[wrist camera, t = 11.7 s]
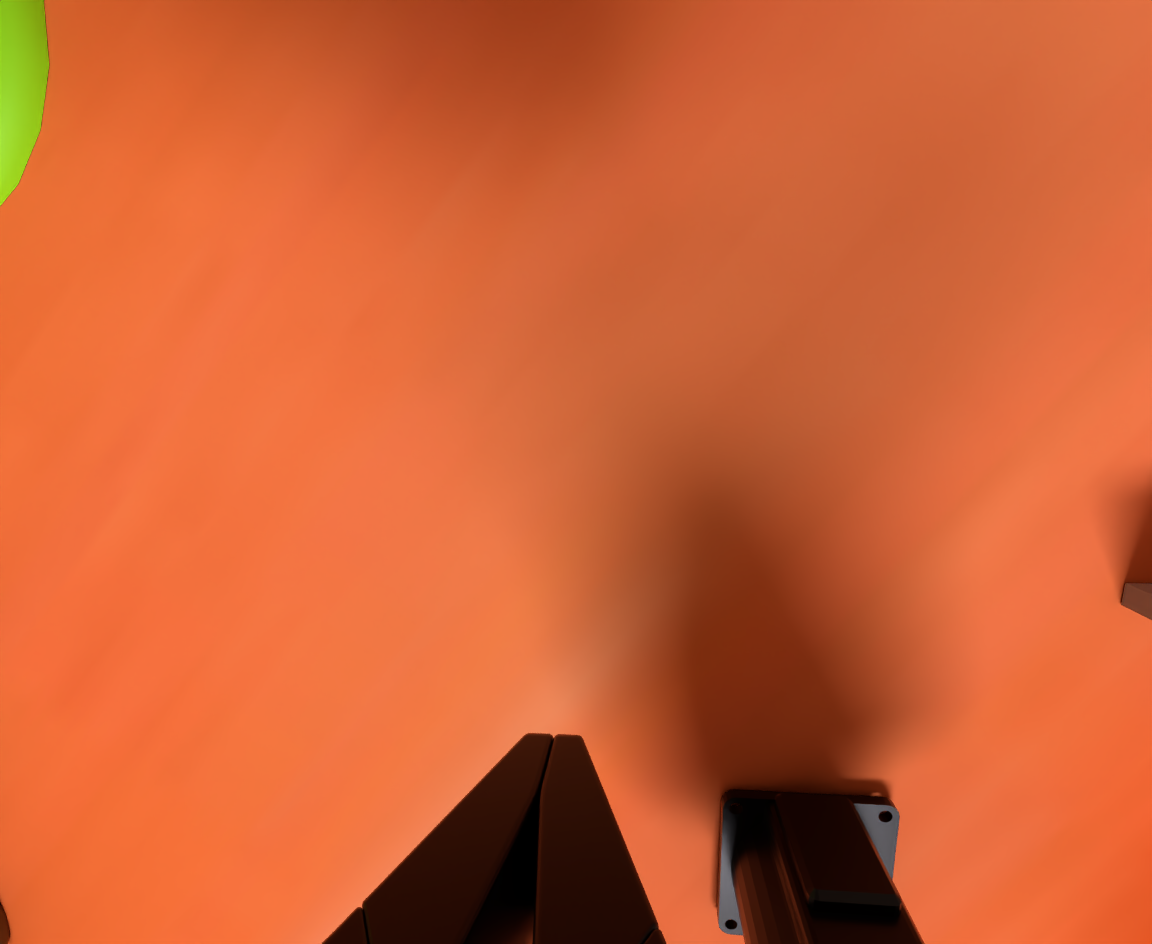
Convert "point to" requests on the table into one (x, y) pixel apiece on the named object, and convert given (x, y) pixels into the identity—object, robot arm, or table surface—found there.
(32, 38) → the wineglass
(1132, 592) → the box
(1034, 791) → the table surface
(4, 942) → the kendama
